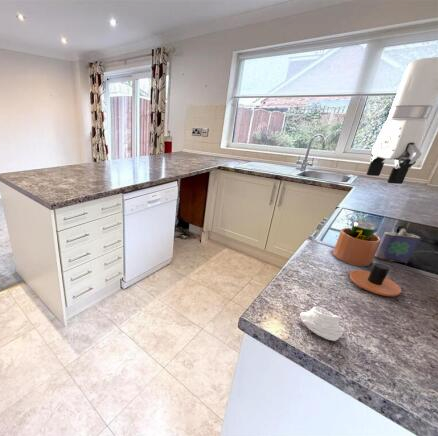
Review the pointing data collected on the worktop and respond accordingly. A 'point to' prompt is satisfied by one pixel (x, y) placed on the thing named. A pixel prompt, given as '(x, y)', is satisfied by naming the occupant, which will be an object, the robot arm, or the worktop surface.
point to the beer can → (362, 230)
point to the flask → (397, 246)
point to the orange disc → (376, 280)
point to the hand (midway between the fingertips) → (382, 179)
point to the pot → (356, 248)
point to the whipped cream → (323, 323)
